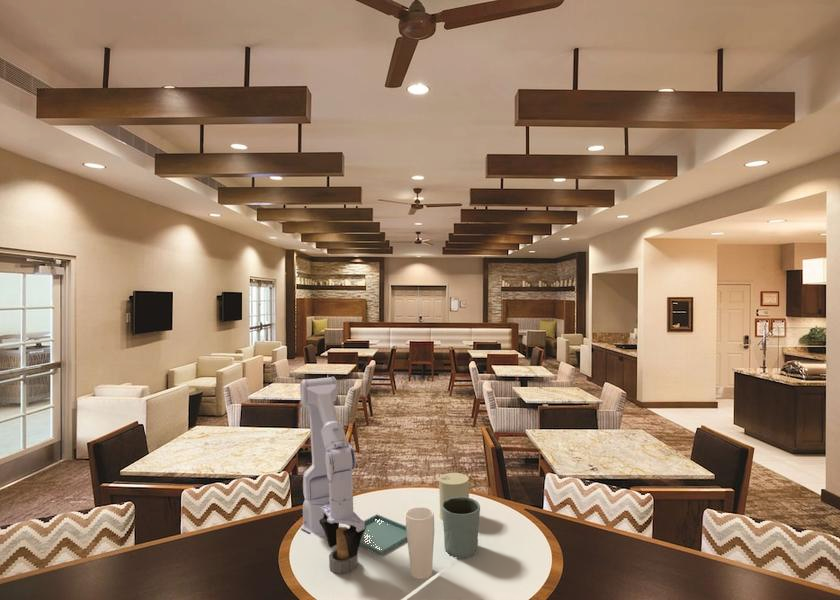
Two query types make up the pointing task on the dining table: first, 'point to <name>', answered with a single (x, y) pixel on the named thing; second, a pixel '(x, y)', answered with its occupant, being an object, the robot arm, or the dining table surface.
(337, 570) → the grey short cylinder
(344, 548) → the pin
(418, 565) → the drinking glass
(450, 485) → the can
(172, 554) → the dining table surface
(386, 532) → the tray
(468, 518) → the green cup
